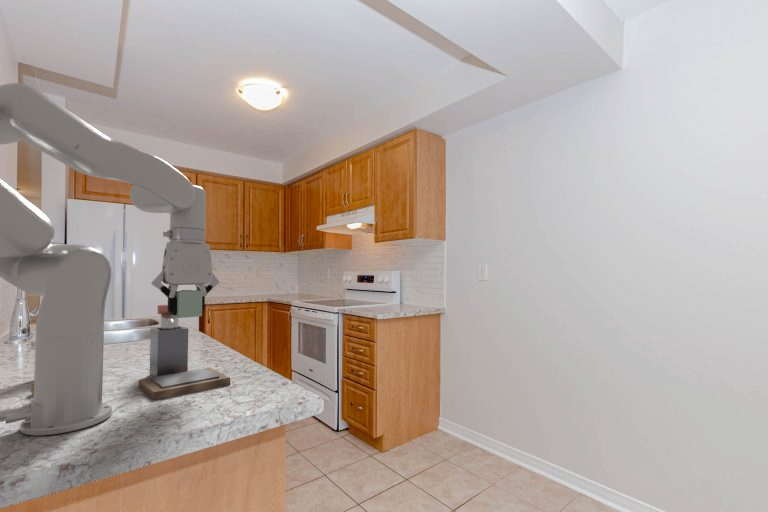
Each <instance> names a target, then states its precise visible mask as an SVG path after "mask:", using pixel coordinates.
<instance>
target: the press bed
mask: <svg viewBox="0 0 768 512" xmlns="http://www.w3.org/2000/svg"><path fill="white" fill-rule="evenodd" d="M228 385H231V377H230V376H228V375H226V374H224V373H222V372H219V371H218V370H215V369H213V368H211V367H207V368H205V367H204V368H200V369H193V370H188V371H187V372H181V373H175V374H169V375H163V376H157V377H152V376H151V377H148V378H147V377H146V378H143V379H142V378H141V379H138V387H139V389H140V390H142V391H143V393H145V394H146V395H147V396H149V397H150V398H151V399H152V400H154V401H155V400H160V399H165V398H170V397H175V396H181V395H185V394H190V393H194V392H199V391H204V390H208V389H213V388H219V387H223V386H228Z"/></svg>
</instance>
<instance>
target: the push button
mask: <svg viewBox="0 0 768 512" xmlns="http://www.w3.org/2000/svg"><path fill="white" fill-rule="evenodd" d="M157 315H160V327H161V331H162V330H172V329H178V326H179V318H177V317H173V316H171V315H170V312H168V304H160V305H157Z"/></svg>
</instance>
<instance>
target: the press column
mask: <svg viewBox="0 0 768 512" xmlns="http://www.w3.org/2000/svg"><path fill="white" fill-rule="evenodd" d="M149 342H150V344H149V345H150V346H149V347H150V348H149V375H150V376H151V377H157V376H163V375H169V374H175V373H181V372H187V371H189V368H188V366H189V365H188V364H189V360H188V359H189V357H188V356H189V328H188V327H185V326H182V325H178V329H172V330H162V331H161V326H159V327H151V328H150V341H149Z"/></svg>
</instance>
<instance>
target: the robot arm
mask: <svg viewBox="0 0 768 512" xmlns="http://www.w3.org/2000/svg"><path fill="white" fill-rule="evenodd" d="M22 141H23V142H24V143H26V144H28V145H30V146H32V147H34V148H35V149H37V150H39V151H40V152H42V153H44V154H46V155H48V156H50V157H51V158H53V159H55V160H57V161H58V162H60V163H62V164H64V165H65V166H66V167H69V168H70V169H72V170H75V171H76V172H77V173H80V174H83V175H86V176H90V177H94V178H98V179H103V180H111V181H117V182H123V183H127V184H130V185H132V186H131V187H130V189H129V199H130V202H131V203H132V205H133V206H134V207H136V208H137V209H138V210H140V211H143V212H145V213H150V214H151V213H152V214H156V213H157V214H161V213H162V214H169V219H170V220H169V221H170V222H169V223H170V224H169V229H168V230H163V232H162V236H163V238H164V237H165V238H168V241H167V242H166V244H165V248H164V253H163V260H162V267H161V272H160V273H159V274H158V275H156V277H155V278H154V279H153V280H152V281H151V283H150V284H151V286H153V287H154V288H156V289H157V290H159V291H160V292H161V293H162V294H163V295H164V296H165V297H166V298H167V305H168V312H170V315H177V298H176V295H175V294H176V291H177V290H178V288H179V286H183V285H184V286H185V285H186V286H191V285H192V286H193V285H195V286H194V287H195V288H196V289H195V290H200V291H202V314H203V312H204V311H203V310H205V306H206V305H205V303H206V296H207V295H208V293H210V292H211V291H212V290H213V288H215V287H216V286H218V285H219V284H220V281H219V279H218V278H217V277H216V276H215V274H214V273H213V263H212V255H211V254H212V253H211V248H210V244H209V243H206V217H207V216H206V212H207V211H206V210H207V205H206V204H207V199H206V198H207V194H206V190H205V189H204V188H203V187H201V186H199V185H194V184H192V182H191V181H190V180H189V178H188V177H186V176H185V175H184V174H183V173H182V172H180V171H179V170H178V169H177V168H175V167H174V166H172V165H171V164H169V163H168V162H167V161H165V160H163V159H162V158H160V157H159V156H155V154H151V153H150V152H147V151H144V150H141V149H139V148H136V147H134V146H131V145H129V144H127V143H124V142H121V141H118V140H116V139H113V138H111V137H109V136H107V135H106V134H104V133H102V132H101V131H100V130H98V129H97V128H95V127H94V126H92V125H91V124H89V123H88V122H86V121H85V120H83V119H82V118H81V117H79V116H78V115H76V114H74V113H73V112H72V111H70V110H69V109H67V108H66V107H65V106H63V105H61V104H60V103H58V102H57V101H56V100H54V99H53V98H51V97H50V96H48V95H46V94H45V93H44V92H42V91H40V90H39V89H37V88H34V87H33V86H30V85H27V84H23V83H18V82H17V83H16V82H13V83H12V82H11V83H5V84H1V85H0V145H8V144H14V143H17V142H22ZM54 238H55V226H54V224H53V223H52V221H51V219H50V218H49V217H48V216H47V215H46V214H45V213H44V212H43V211H42V210H40V208H38V206H36V205H35V204H33V203H32V202H31V201H29V200H28V199H26V198H25V197H24V196H23V195H21V193H19V192H18V191H17V190H15V189H14V188H13V187H12V186H10V185H9V184H8V183H7V182H5V181H4V180H3V179H1V178H0V278H1V279H2V280H4V281H6V282H7V283H9V284H11V285H12V286H13V287H16V288H18V289H19V290H21V291H23V292H25V293H28V294H30V295H34V296H39V297H42V298H41V301H40V302H41V303H40V305H39V308H38V312H37V316H36V324H35V347H34V348H35V350H34V375H33V376H34V377H33V383H34V384H33V386H34V395H33V397H32V398H30V401H29V403H23V404H22V406H19V407H14V408H5V409H0V423H3V422H4V423H5V424H11V423H16V422H19V421H22V422H21V423H20V425H19V426H20V427H19V431H20V433H22V434H24V435H27V436H50V435H58V434H64V433H70V432H74V431H78V430H82V429H86V428H89V427H92V426H94V425H97V424H99V423H101V422H103V421H105V420H107V419H108V418H110V416H111V415H112V414H113V407H112V406H111V405H109V404H108V403H103V382H104V381H103V378H104V377H103V376H104V373H103V371H104V342H105V341H104V339H105V336H104V335H105V333H104V332H105V314H106V313H105V312H106V302H107V299H108V298H107V297H108V293H109V288H110V286H111V280H112V267H111V263H110V261H109V259H108V258H107V256H106V255H105V254H104V253H102V252H101V251H100V250H98V249H96V248H94V247H92V246H88V245H84V244H58V245H57V244H56V245H53V244H52V243H53V241H54ZM163 283H164V284H166V285H168V286H166V285H164V284H163Z"/></svg>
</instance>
